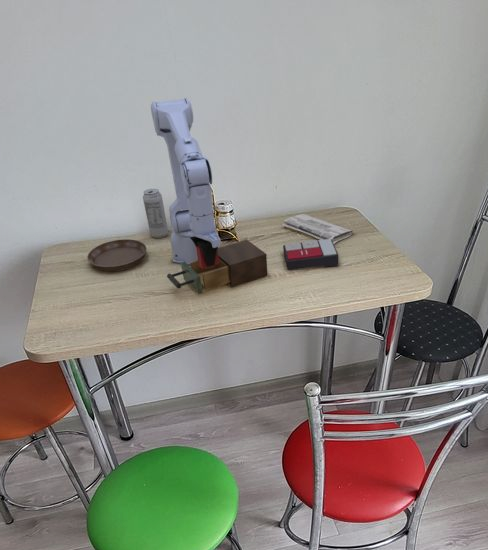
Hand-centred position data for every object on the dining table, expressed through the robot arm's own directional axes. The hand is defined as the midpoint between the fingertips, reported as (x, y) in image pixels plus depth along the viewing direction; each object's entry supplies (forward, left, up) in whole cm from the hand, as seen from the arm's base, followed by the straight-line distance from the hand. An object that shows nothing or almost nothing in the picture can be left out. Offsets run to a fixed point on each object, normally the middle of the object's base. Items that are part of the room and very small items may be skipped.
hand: (208, 263), depth 125 cm
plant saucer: (-38, +10, -10) cm, 40 cm away
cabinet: (+2, +14, -10) cm, 17 cm away
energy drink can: (-36, +30, -10) cm, 48 cm away
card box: (0, 0, -1) cm, 1 cm away
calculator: (+18, +28, -10) cm, 35 cm away
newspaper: (+14, +48, -10) cm, 51 cm away
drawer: (-6, +4, -9) cm, 11 cm away
